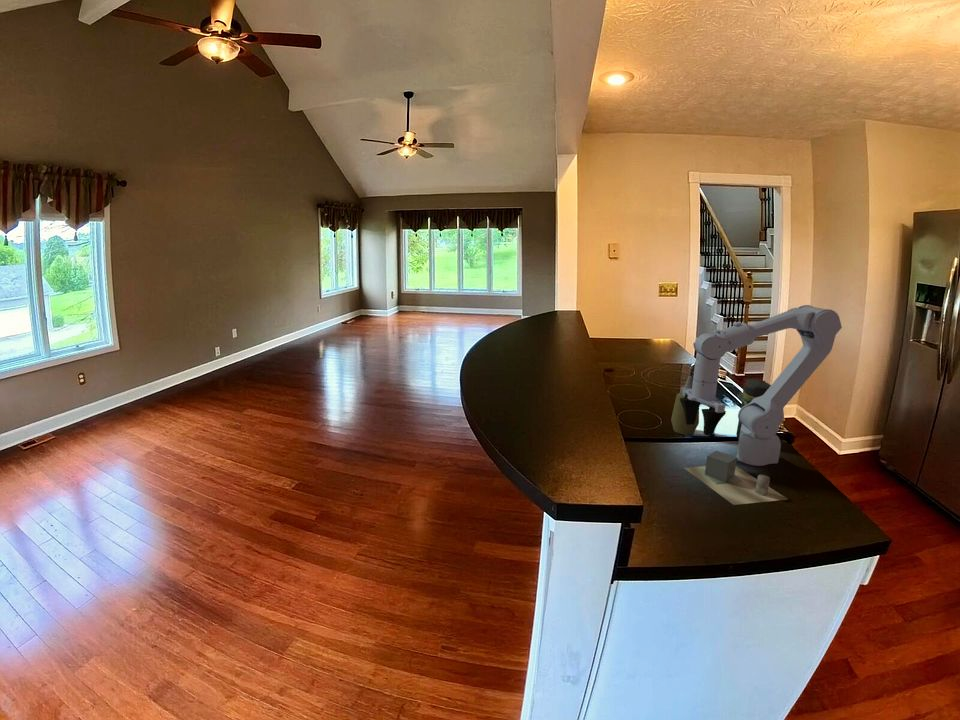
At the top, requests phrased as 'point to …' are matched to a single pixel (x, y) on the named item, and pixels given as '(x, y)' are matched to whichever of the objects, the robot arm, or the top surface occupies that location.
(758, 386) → the coffee jar
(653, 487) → the top surface
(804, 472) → the top surface
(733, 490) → the board
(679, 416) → the squeeze bottle
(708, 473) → the grey matte cube
